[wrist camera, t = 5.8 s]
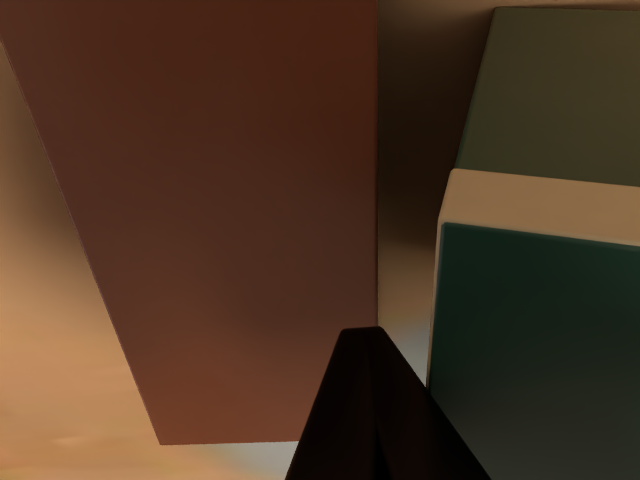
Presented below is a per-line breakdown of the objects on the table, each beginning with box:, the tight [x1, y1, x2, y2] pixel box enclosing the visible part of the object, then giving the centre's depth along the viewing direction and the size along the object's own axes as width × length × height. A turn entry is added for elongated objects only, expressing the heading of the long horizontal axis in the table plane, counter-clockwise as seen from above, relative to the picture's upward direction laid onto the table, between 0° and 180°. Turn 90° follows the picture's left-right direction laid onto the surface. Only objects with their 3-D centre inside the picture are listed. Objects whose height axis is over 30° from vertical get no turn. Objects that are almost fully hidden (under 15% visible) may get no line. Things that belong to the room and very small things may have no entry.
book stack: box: [0, 0, 378, 445], centre depth 13 cm, size 6×14×4 cm, turn 4°
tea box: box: [426, 7, 640, 480], centre depth 11 cm, size 7×7×8 cm
